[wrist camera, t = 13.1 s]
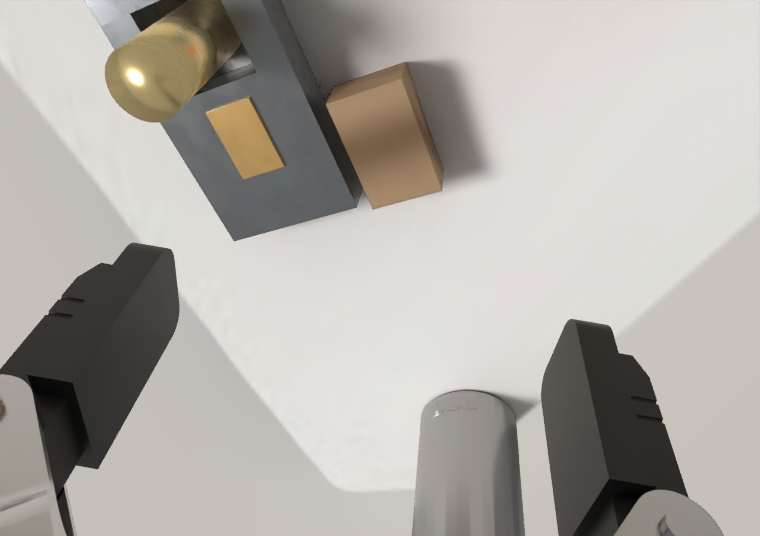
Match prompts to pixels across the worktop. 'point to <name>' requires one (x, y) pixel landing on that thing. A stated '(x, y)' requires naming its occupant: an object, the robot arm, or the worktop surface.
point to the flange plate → (254, 124)
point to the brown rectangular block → (386, 136)
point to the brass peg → (171, 60)
